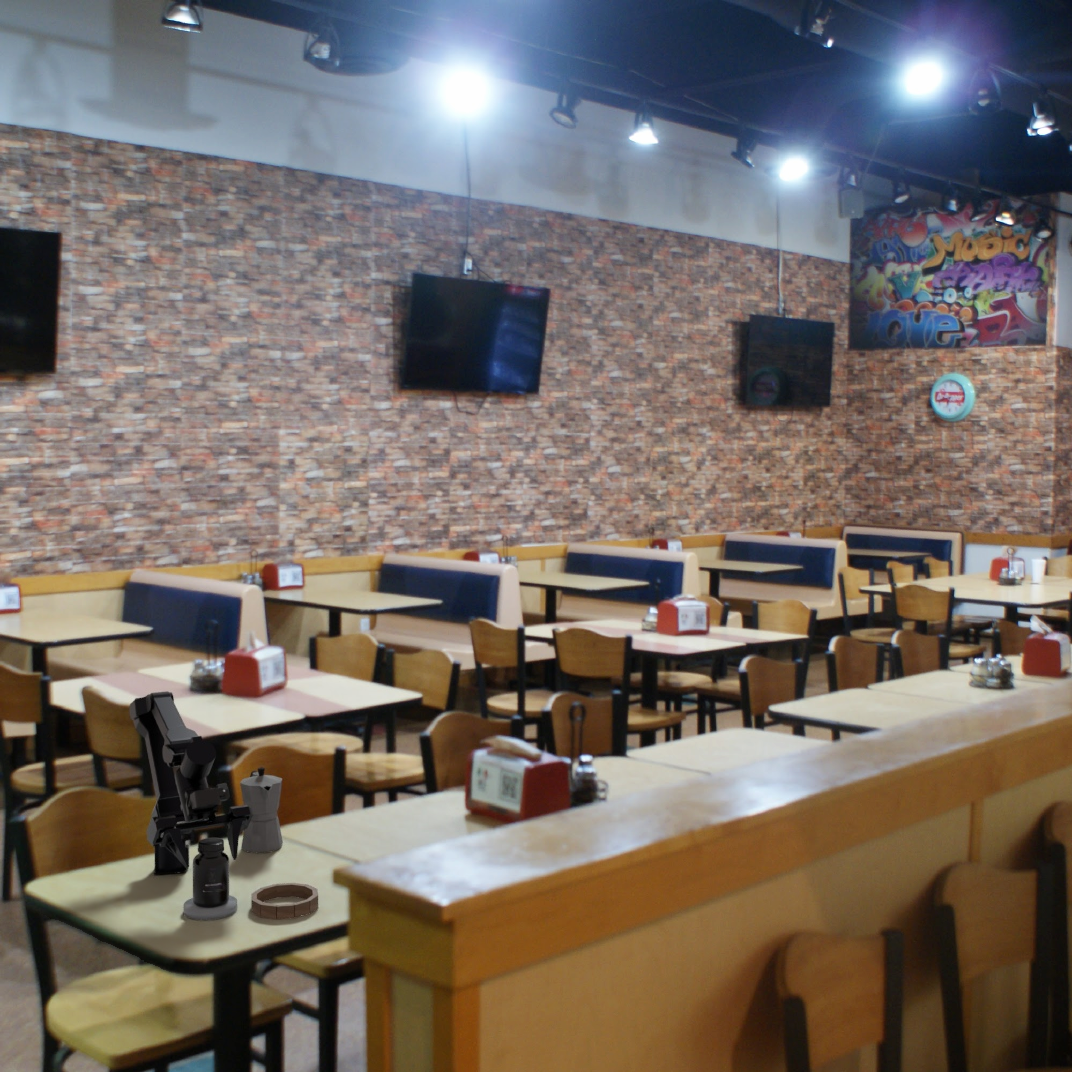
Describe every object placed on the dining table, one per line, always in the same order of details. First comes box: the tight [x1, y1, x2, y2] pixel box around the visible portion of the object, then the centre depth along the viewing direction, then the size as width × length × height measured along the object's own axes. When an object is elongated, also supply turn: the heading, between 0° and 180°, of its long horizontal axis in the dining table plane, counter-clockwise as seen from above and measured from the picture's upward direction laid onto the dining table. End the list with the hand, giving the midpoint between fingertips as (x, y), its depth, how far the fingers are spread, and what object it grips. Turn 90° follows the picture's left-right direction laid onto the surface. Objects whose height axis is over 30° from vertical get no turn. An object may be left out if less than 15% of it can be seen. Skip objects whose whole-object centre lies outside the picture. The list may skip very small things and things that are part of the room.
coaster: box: [182, 894, 238, 921], centre depth 240 cm, size 10×10×2 cm
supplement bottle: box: [192, 837, 230, 908], centre depth 240 cm, size 7×7×12 cm
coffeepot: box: [239, 766, 284, 854], centre depth 279 cm, size 15×9×18 cm, turn 25°
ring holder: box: [250, 882, 319, 920], centre depth 242 cm, size 13×13×2 cm
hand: (211, 863), depth 238 cm, fingers open, 9 cm apart
